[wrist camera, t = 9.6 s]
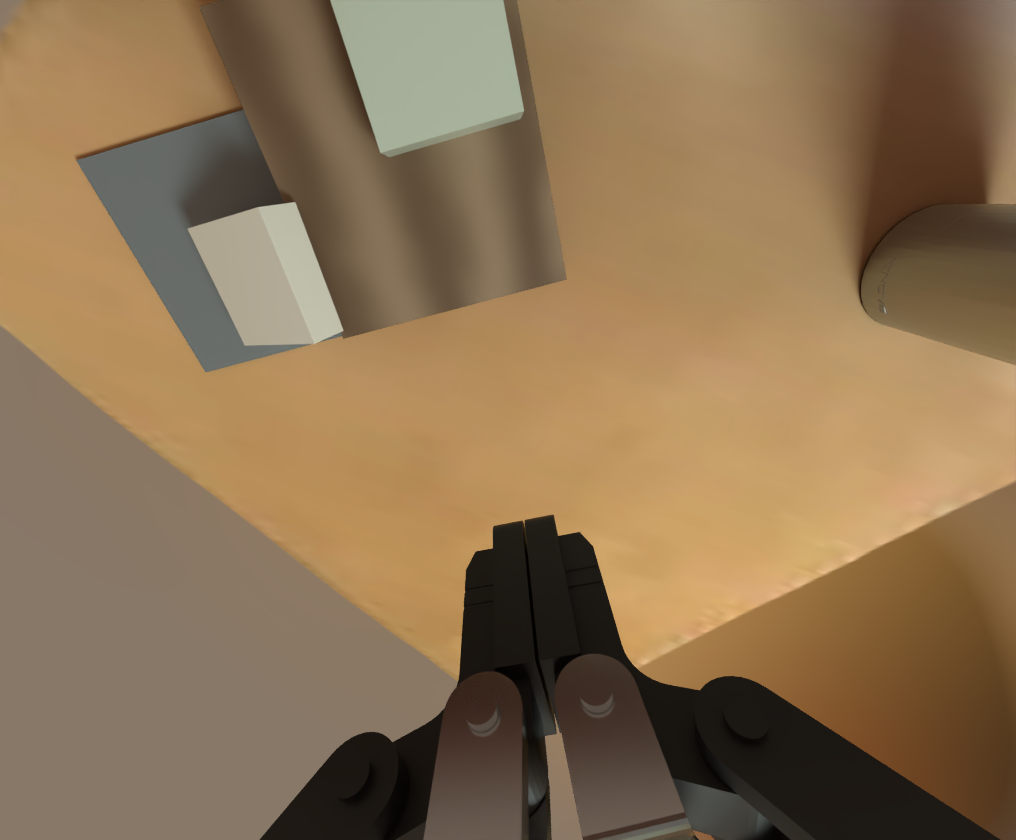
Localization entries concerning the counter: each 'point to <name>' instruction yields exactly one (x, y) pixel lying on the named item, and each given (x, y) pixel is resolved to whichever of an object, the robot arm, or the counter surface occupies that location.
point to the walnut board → (388, 174)
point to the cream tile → (268, 276)
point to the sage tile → (430, 68)
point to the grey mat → (187, 220)
